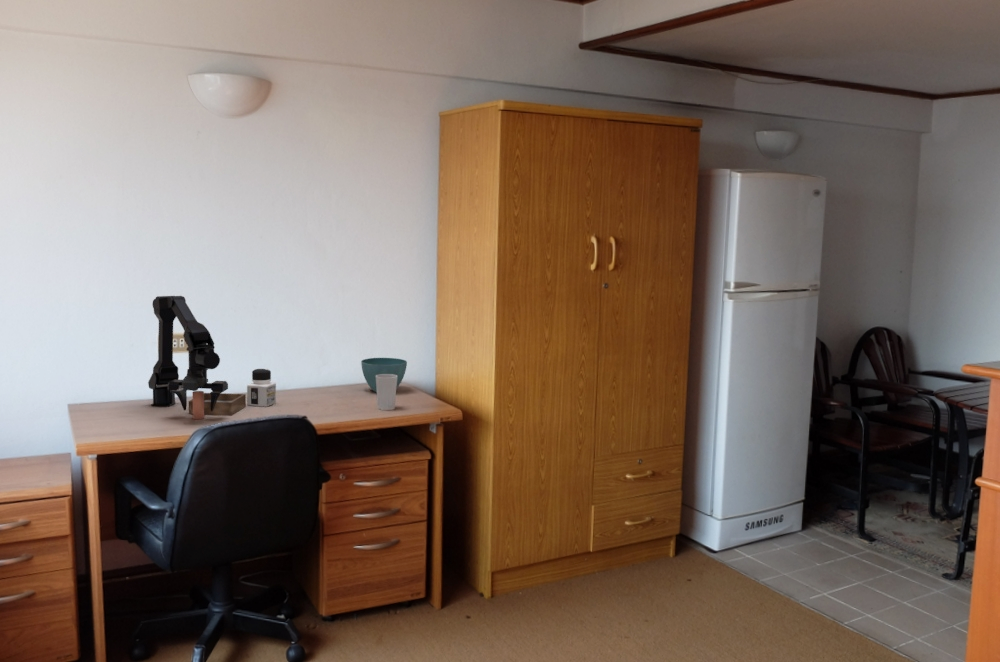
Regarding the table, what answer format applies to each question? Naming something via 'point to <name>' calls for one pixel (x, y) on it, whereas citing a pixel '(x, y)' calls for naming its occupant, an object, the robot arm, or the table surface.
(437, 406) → the table surface
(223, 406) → the box
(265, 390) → the container
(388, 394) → the cup
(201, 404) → the peg
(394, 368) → the teal bowl
